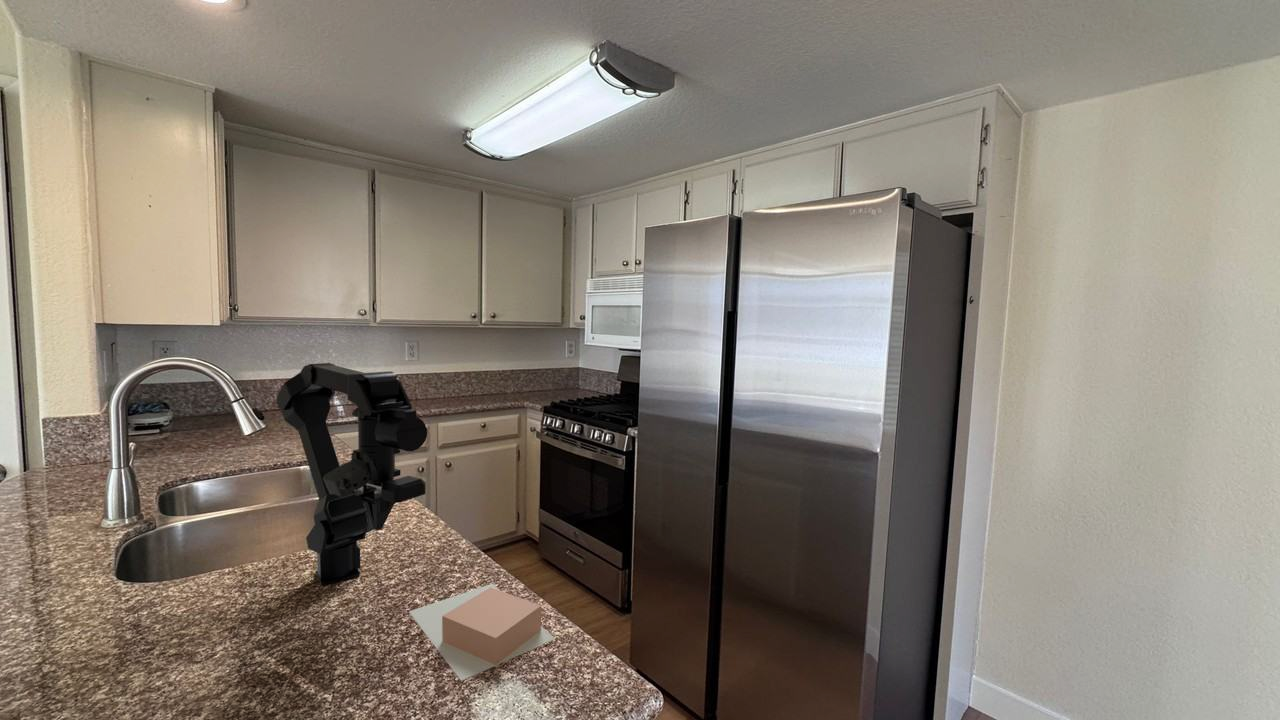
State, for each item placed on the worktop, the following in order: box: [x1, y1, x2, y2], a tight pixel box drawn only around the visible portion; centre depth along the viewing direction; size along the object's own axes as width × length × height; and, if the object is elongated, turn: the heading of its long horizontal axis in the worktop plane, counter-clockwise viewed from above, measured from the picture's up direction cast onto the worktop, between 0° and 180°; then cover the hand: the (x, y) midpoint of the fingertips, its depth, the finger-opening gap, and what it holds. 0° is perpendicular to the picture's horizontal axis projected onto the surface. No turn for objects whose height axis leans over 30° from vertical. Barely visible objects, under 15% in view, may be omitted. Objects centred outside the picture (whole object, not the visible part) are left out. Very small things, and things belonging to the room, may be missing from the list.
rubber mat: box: [408, 583, 556, 682], centre depth 84 cm, size 15×22×1 cm
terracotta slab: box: [442, 588, 542, 666], centre depth 81 cm, size 4×10×11 cm
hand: (378, 529), depth 92 cm, fingers closed
